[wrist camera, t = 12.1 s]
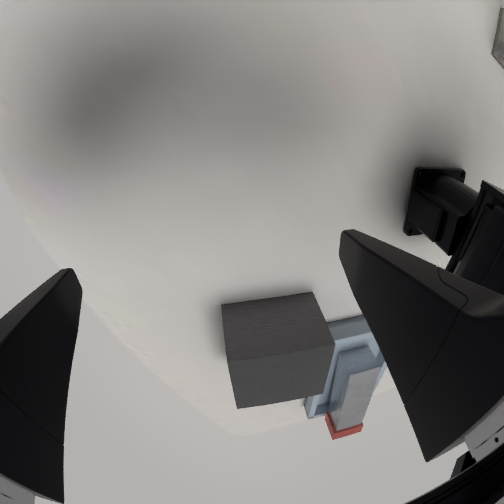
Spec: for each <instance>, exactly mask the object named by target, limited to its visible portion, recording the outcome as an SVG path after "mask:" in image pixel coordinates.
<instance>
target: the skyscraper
mask: <svg viewBox="0 0 504 504" xmlns="http://www.w3.org/2000/svg"><path fill="white" fill-rule="evenodd" d="M492 56H493V57H494V58H495V59H496V60H497V61H498V63H499V64H500V65H501V66H502V67H503V69H504V8H501V9H500V15H499V21H498V27H497V32H496V37H495V42H494V46H493V51H492Z"/></svg>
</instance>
